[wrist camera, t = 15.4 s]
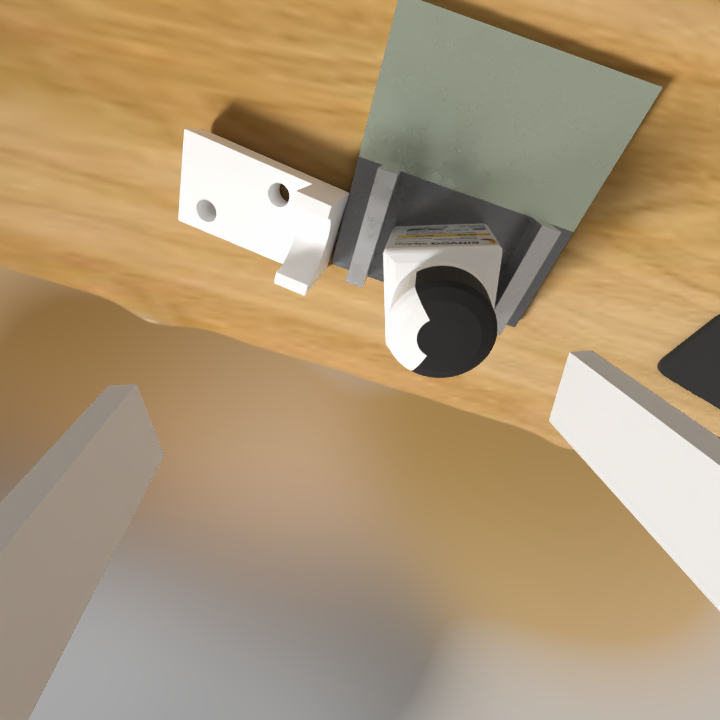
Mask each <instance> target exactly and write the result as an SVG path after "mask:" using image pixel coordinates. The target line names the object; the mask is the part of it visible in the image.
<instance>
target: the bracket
mask: <svg viewBox="0 0 720 720" xmlns="http://www.w3.org/2000/svg"><path fill="white" fill-rule="evenodd" d="M281 184H283V185H284V186H285V187H286V188H287V190H288V192H289V201H286V200H284V199H283V198H282V196H281V194H280V185H281ZM348 197H349V192H346V191H344V190H342V189H339V188H337V187H335V186H332V185H330V184H328V183H325V182H323V181H321V180H319V179H316V178H314V177H312V176H309V175H307V174H305V173H302V172H300V171H298V170H296V169H293V168H291V167H289V166H286V165H284V164H282V163H279V162H277V161H275V160H273V159H270V158H268V157H266V156H263V155H261V154H259V153H256V152H254V151H252V150H250V149H247V148H245V147H243V146H240V145H238V144H236V143H233V142H231V141H229V140H227V139H224V138H222V137H220V136H217V135H215V134H213V133H210V132H208V131H206V130H204V129H184V141H183V156H182V171H181V187H180V202H179V217H178V220H179V221H181V222H184V223H186V224H188V225H191V226H193V227H196V228H198V229H200V230H203V231H205V232H207V233H210V234H212V235H215V236H217V237H219V238H222V239H224V240H227V241H229V242H231V243H234V244H236V245H239V246H241V247H243V248H246V249H248V250H250V251H253V252H255V253H258V254H260V255H262V256H265V257H267V258H270V259H272V260H274V261H277V262H279V263H282V266H281V267H280V269H279V270H278V271H277V272H276V276H275V280H274V283H275V284H277V285H280V286H282V287H285V288H287V289H289V290H292V291H294V292H297V293H299V294H301V295H304V296H305V295H306V294H307V292H308V291H309V290H310V288H311V287H312V286H313V285H314V283H315V282H316V281H317V280H318V278H319V277H320V276H321V275H322V273H323V272H324V271H325V270H326V268H327V266H328V263H329V260H330V257H331V254H332V251H333V248H334V245H335V242H336V239H337V235H338V229H339V226H340V223H341V220H342V217H343V213H344V210H345V207H346V204H347V201H348Z"/></svg>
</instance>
